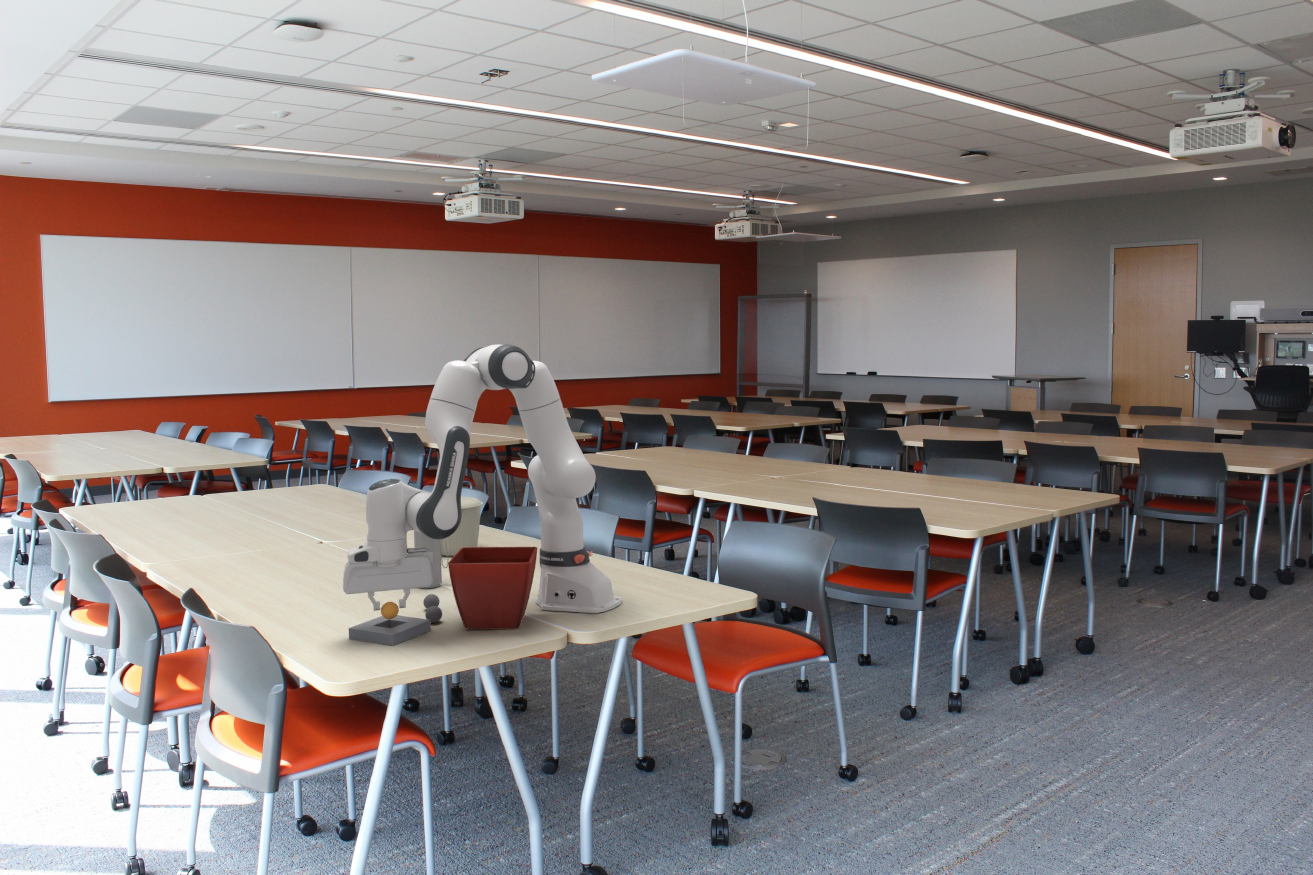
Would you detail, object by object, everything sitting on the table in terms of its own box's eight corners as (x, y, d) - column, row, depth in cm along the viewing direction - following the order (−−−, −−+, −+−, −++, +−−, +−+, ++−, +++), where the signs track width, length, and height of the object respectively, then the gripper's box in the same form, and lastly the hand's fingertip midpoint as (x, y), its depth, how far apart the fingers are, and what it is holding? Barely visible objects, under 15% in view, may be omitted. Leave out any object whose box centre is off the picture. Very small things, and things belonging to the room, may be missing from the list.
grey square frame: (430, 630, 222) (430, 619, 222) (393, 645, 210) (392, 634, 210) (388, 623, 228) (387, 613, 227) (349, 638, 216) (348, 628, 216)
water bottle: (415, 590, 260) (412, 500, 258) (415, 583, 267) (412, 496, 265) (449, 587, 262) (447, 499, 260) (448, 581, 270) (445, 495, 268)
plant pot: (539, 611, 238) (537, 545, 236) (532, 633, 219) (530, 562, 217) (463, 612, 237) (461, 546, 236) (449, 635, 218) (446, 563, 217)
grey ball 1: (443, 608, 241) (442, 593, 241) (432, 612, 237) (432, 596, 237) (430, 606, 243) (430, 591, 242) (420, 610, 239) (419, 595, 239)
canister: (489, 556, 303) (487, 491, 301) (432, 561, 296) (430, 495, 294) (478, 545, 320) (476, 484, 318) (424, 550, 313) (422, 487, 311)
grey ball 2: (445, 621, 229) (445, 605, 229) (435, 625, 226) (434, 609, 225) (432, 619, 231) (432, 603, 231) (422, 623, 228) (421, 607, 227)
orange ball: (402, 617, 220) (402, 600, 219) (390, 621, 216) (390, 604, 216) (389, 615, 221) (388, 598, 221) (377, 620, 218) (376, 603, 217)
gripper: (431, 543, 224) (433, 600, 225) (341, 550, 217) (343, 609, 218) (434, 548, 218) (436, 607, 219) (341, 556, 211) (344, 616, 212)
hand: (389, 608), depth 218 cm, fingers open, 4 cm apart
